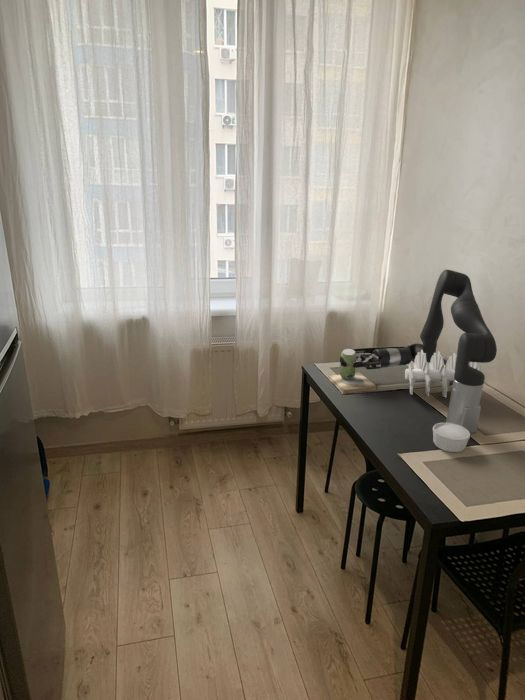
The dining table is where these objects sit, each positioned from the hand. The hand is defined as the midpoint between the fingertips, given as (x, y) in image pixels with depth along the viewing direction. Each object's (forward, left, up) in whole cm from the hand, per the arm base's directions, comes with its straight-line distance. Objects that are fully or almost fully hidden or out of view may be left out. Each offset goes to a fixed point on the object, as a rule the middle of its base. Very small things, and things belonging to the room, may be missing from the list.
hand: (349, 361), depth 199 cm
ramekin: (-50, -11, -10) cm, 52 cm away
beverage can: (+2, -1, -8) cm, 9 cm away
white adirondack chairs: (-17, -30, -10) cm, 36 cm away
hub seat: (0, -2, -10) cm, 10 cm away
